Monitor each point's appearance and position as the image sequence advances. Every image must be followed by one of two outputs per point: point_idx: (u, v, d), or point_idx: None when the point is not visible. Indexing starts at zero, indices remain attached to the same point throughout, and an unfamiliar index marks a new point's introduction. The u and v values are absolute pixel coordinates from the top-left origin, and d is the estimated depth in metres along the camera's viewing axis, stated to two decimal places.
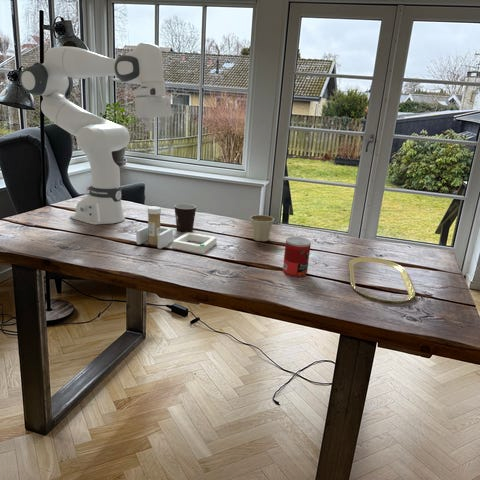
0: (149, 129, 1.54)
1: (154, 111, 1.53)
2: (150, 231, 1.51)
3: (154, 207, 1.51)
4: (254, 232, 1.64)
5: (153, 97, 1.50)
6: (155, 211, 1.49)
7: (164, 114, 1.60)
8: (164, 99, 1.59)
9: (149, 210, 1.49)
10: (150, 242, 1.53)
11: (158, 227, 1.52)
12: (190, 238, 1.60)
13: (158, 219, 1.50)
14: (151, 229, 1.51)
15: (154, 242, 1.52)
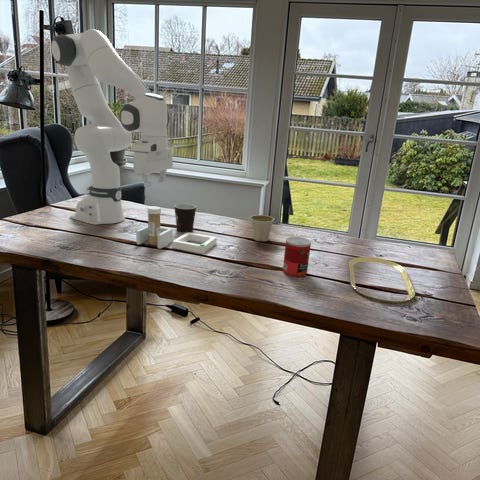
0: (146, 185, 1.43)
1: (153, 167, 1.42)
2: (150, 231, 1.51)
3: (154, 207, 1.51)
4: (254, 232, 1.64)
5: (153, 153, 1.39)
6: (155, 211, 1.49)
7: (164, 167, 1.49)
8: (165, 151, 1.48)
9: (149, 210, 1.49)
10: (150, 242, 1.53)
11: (158, 227, 1.52)
12: (190, 238, 1.60)
13: (158, 219, 1.50)
14: (151, 229, 1.51)
15: (154, 242, 1.52)
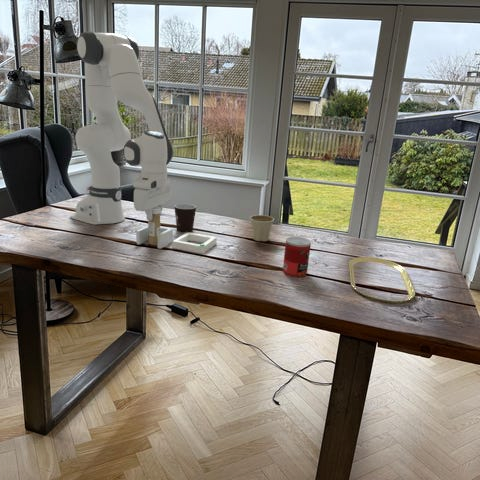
0: (149, 218, 1.48)
1: (153, 202, 1.46)
2: (150, 231, 1.51)
3: (154, 207, 1.51)
4: (254, 232, 1.64)
5: (153, 189, 1.43)
6: (155, 211, 1.49)
7: (164, 200, 1.53)
8: (165, 186, 1.52)
9: None
10: (150, 242, 1.53)
11: (158, 227, 1.52)
12: (190, 238, 1.60)
13: (158, 219, 1.50)
14: (151, 228, 1.51)
15: (154, 242, 1.52)
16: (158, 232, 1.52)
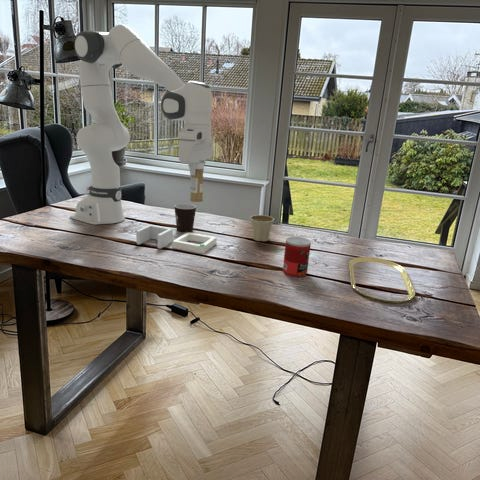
0: (193, 173, 1.43)
1: (197, 155, 1.41)
2: (193, 187, 1.46)
3: (197, 162, 1.45)
4: (254, 232, 1.64)
5: (199, 141, 1.37)
6: (198, 166, 1.43)
7: (206, 156, 1.47)
8: (208, 140, 1.47)
9: None
10: (192, 199, 1.47)
11: (201, 183, 1.46)
12: (190, 238, 1.60)
13: (201, 175, 1.45)
14: (194, 185, 1.45)
15: (197, 199, 1.47)
16: (201, 189, 1.47)
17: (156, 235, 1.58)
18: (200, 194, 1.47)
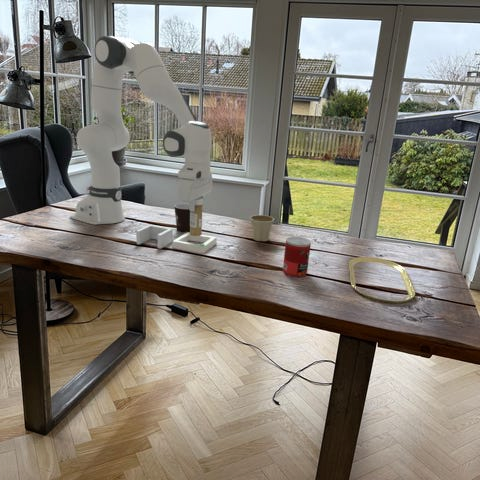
0: (192, 209, 1.47)
1: (197, 193, 1.45)
2: (192, 222, 1.50)
3: None
4: (254, 232, 1.64)
5: (198, 180, 1.42)
6: (198, 202, 1.48)
7: (205, 191, 1.51)
8: (207, 177, 1.51)
9: None
10: (192, 233, 1.52)
11: (200, 218, 1.50)
12: (190, 238, 1.60)
13: (200, 210, 1.49)
14: (193, 220, 1.50)
15: (196, 233, 1.51)
16: (200, 223, 1.51)
17: (156, 235, 1.58)
18: (199, 228, 1.51)
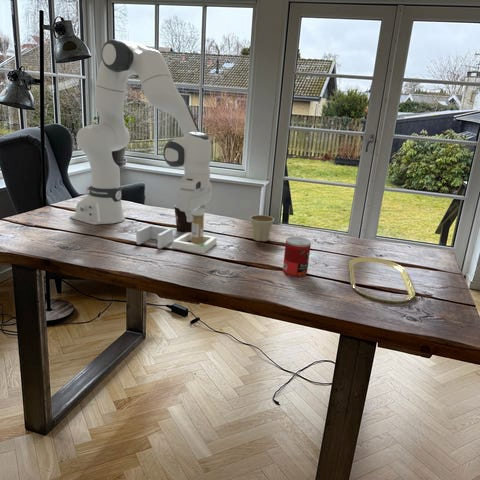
0: (189, 220, 1.47)
1: (196, 203, 1.46)
2: (194, 232, 1.53)
3: (198, 208, 1.52)
4: (254, 232, 1.64)
5: (197, 190, 1.43)
6: (199, 213, 1.51)
7: (205, 201, 1.53)
8: (206, 186, 1.52)
9: (193, 212, 1.51)
10: (194, 243, 1.55)
11: (202, 228, 1.54)
12: (190, 238, 1.60)
13: (202, 220, 1.52)
14: (195, 230, 1.53)
15: (198, 243, 1.55)
16: (202, 233, 1.54)
17: (156, 235, 1.58)
18: (201, 238, 1.55)
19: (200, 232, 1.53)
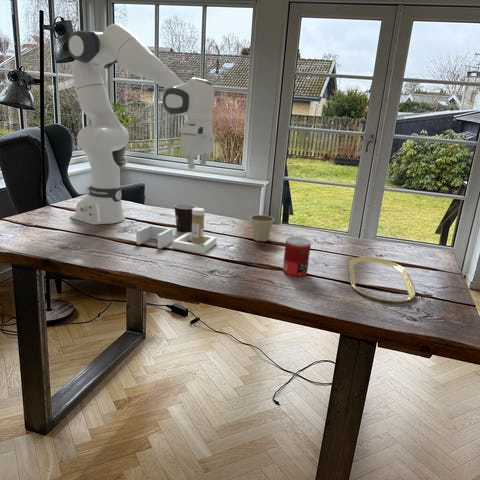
0: (191, 167, 1.48)
1: (198, 149, 1.47)
2: (194, 232, 1.53)
3: (198, 208, 1.53)
4: (254, 232, 1.64)
5: (200, 136, 1.44)
6: (199, 213, 1.51)
7: (207, 150, 1.54)
8: (209, 135, 1.53)
9: (194, 211, 1.51)
10: (194, 243, 1.55)
11: (202, 228, 1.54)
12: (190, 238, 1.60)
13: (202, 220, 1.53)
14: (195, 230, 1.53)
15: (198, 243, 1.55)
16: (202, 233, 1.54)
17: (156, 235, 1.58)
18: (201, 238, 1.55)
19: (200, 232, 1.54)
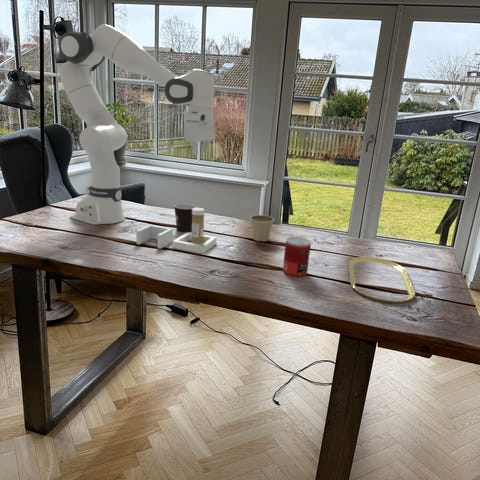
0: (194, 152, 1.59)
1: (201, 135, 1.59)
2: (194, 232, 1.53)
3: (198, 208, 1.53)
4: (254, 232, 1.64)
5: (202, 122, 1.55)
6: (199, 213, 1.51)
7: (208, 137, 1.65)
8: (210, 123, 1.65)
9: (194, 211, 1.51)
10: (194, 243, 1.55)
11: (202, 228, 1.54)
12: (190, 238, 1.60)
13: (202, 220, 1.53)
14: (195, 230, 1.53)
15: (198, 243, 1.55)
16: (202, 233, 1.54)
17: (156, 235, 1.58)
18: (201, 238, 1.55)
19: (200, 232, 1.54)
